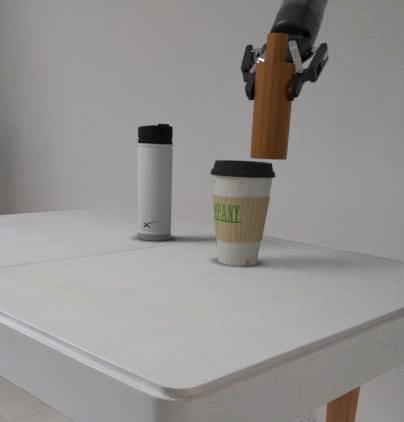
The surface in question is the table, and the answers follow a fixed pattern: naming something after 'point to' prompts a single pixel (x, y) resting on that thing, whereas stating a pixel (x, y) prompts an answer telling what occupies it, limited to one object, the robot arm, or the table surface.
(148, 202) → the travel mug
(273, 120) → the amber bottle
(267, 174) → the coffee cup
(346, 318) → the table surface
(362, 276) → the table surface
